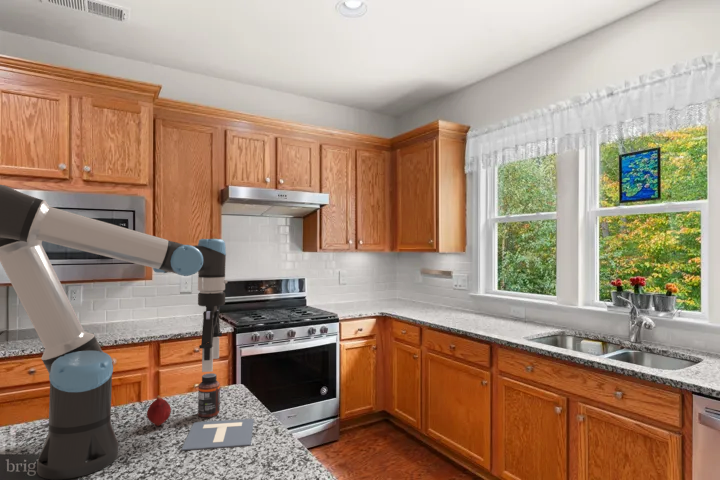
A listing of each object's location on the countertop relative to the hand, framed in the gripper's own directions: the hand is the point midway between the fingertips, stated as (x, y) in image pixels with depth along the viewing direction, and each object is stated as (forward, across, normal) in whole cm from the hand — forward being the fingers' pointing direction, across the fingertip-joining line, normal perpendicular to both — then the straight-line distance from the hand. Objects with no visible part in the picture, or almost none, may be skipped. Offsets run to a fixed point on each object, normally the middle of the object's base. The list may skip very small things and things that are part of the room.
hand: (211, 364), depth 123 cm
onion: (+14, -6, +12) cm, 20 cm away
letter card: (+14, -14, -4) cm, 21 cm away
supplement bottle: (+14, 0, 0) cm, 14 cm away
